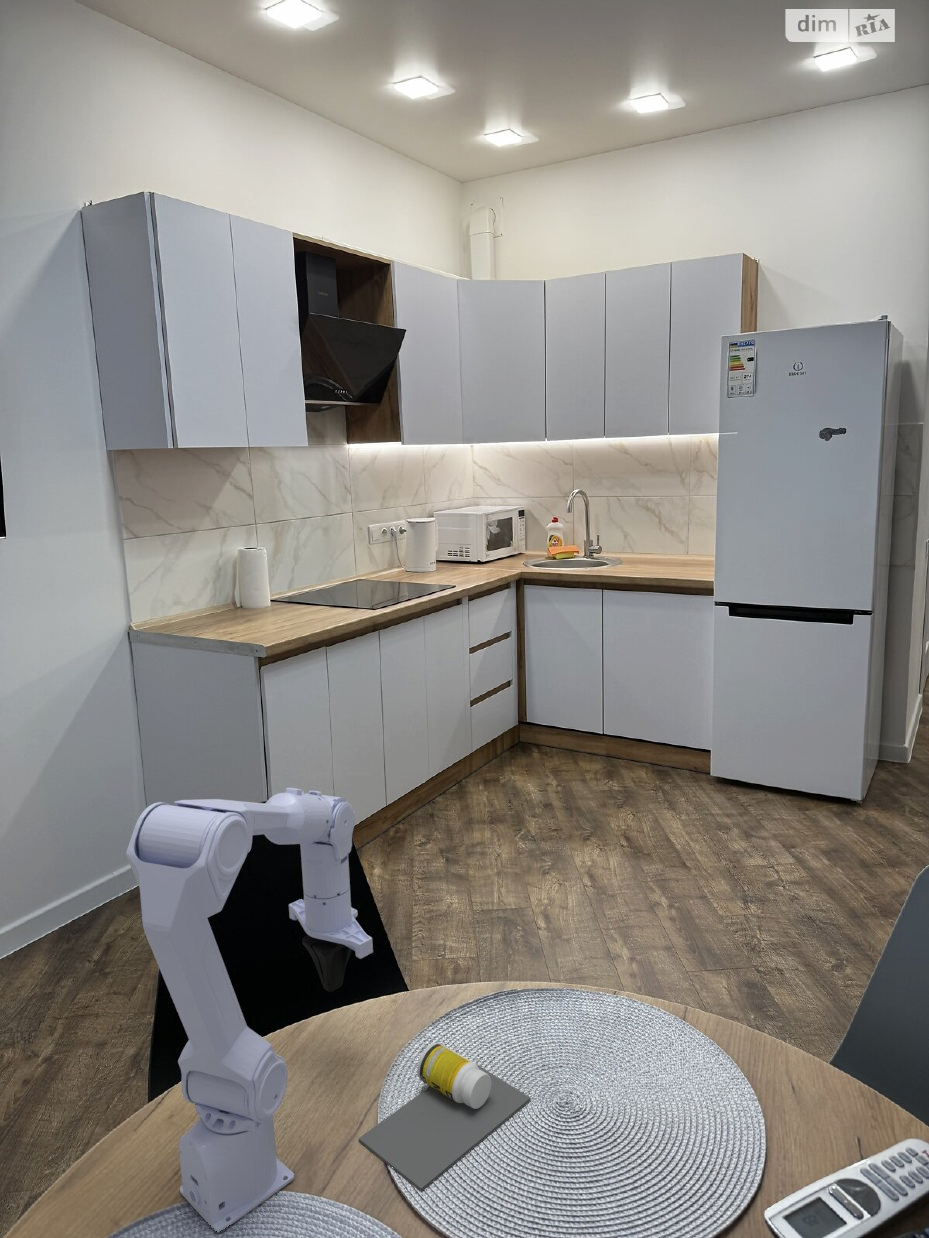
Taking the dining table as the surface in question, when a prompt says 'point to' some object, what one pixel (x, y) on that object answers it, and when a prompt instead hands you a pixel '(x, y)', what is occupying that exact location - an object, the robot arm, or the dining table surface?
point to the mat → (439, 1130)
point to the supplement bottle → (454, 1075)
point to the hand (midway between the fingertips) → (333, 986)
